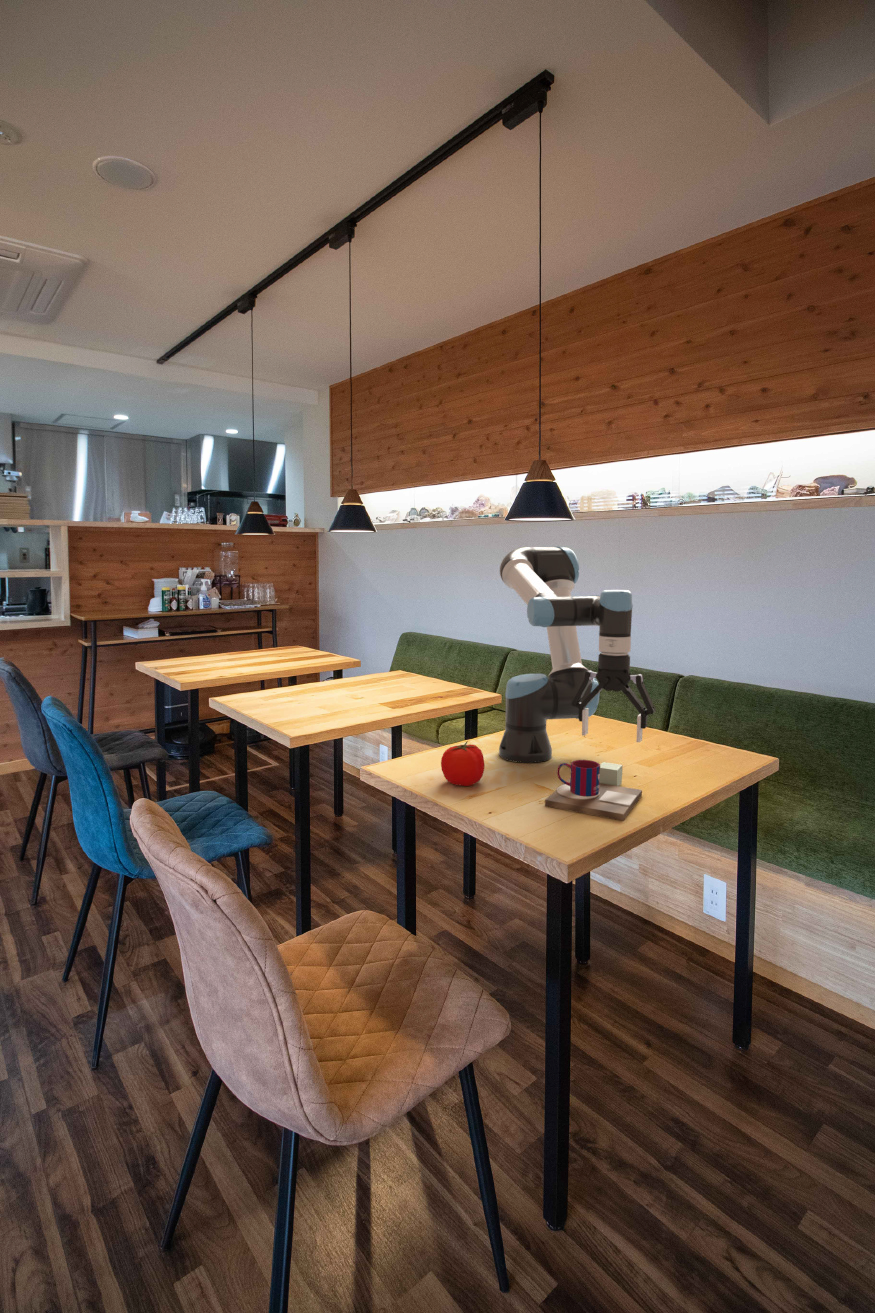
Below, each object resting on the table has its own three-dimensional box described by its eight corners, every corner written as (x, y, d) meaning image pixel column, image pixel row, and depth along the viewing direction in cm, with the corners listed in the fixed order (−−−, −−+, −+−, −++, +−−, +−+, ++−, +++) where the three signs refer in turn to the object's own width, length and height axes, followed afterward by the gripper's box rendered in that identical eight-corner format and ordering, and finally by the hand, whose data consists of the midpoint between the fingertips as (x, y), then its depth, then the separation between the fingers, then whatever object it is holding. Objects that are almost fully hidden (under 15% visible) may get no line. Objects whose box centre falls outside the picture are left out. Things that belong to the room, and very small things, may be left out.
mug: (593, 798, 155) (594, 770, 154) (552, 790, 160) (553, 763, 159) (602, 790, 161) (603, 762, 160) (563, 782, 166) (563, 756, 165)
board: (544, 806, 156) (545, 798, 155) (569, 783, 171) (569, 776, 170) (623, 820, 147) (623, 813, 146) (641, 796, 162) (642, 788, 162)
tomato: (477, 774, 178) (478, 736, 177) (489, 790, 166) (490, 749, 165) (436, 776, 177) (436, 738, 175) (445, 793, 164) (445, 752, 163)
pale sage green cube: (596, 786, 169) (597, 767, 168) (602, 780, 173) (602, 762, 173) (616, 789, 167) (617, 770, 166) (621, 784, 171) (622, 764, 170)
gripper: (560, 651, 168) (558, 734, 171) (663, 658, 156) (660, 747, 158) (570, 648, 174) (568, 728, 177) (670, 654, 162) (666, 740, 165)
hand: (611, 737), depth 168 cm, fingers open, 13 cm apart
